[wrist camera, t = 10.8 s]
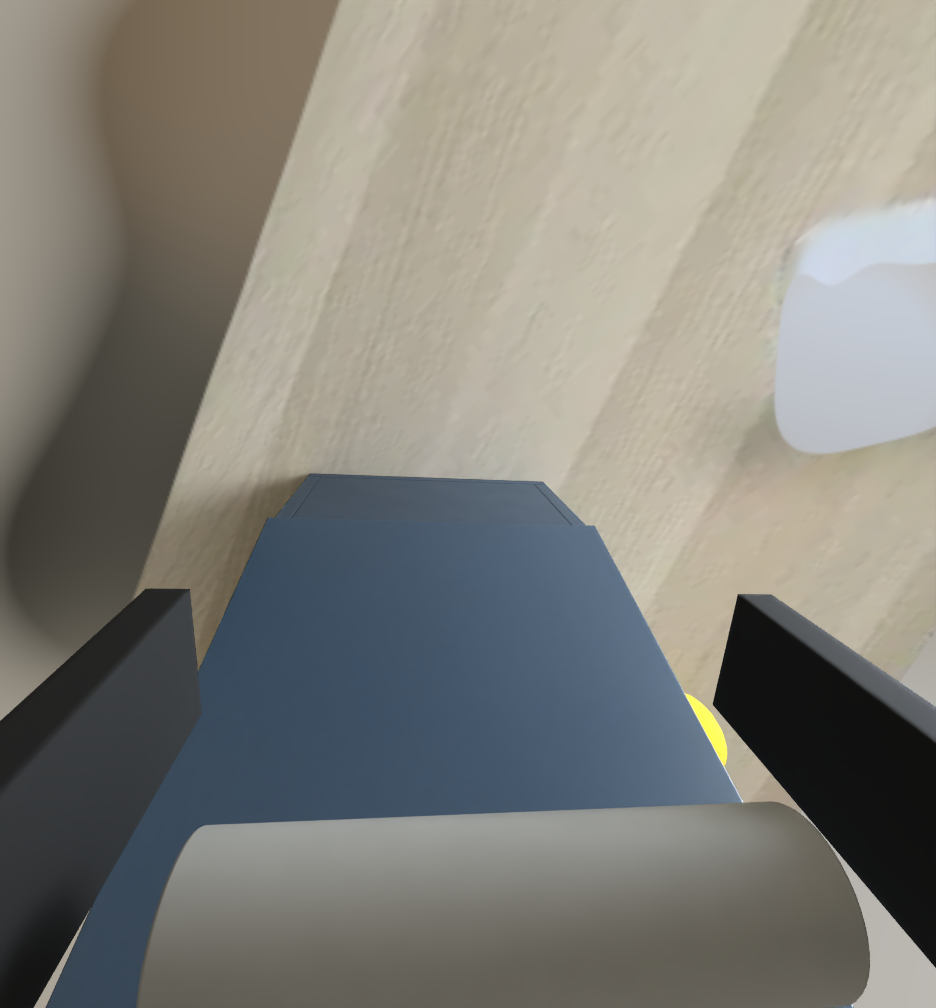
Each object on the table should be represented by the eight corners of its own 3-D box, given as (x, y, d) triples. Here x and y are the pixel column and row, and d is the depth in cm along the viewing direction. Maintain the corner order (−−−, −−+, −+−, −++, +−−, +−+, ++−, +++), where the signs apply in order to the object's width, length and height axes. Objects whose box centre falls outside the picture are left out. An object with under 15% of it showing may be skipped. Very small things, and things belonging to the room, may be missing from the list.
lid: (946, 1237, 9) (1391, 1123, 5) (-104, 1399, 7) (-722, 1426, 3) (591, 538, 26) (627, 394, 22) (269, 531, 24) (248, 373, 20)
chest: (517, 721, 41) (549, 830, 32) (315, 725, 39) (286, 842, 30) (543, 481, 36) (590, 529, 26) (309, 473, 34) (271, 521, 24)
